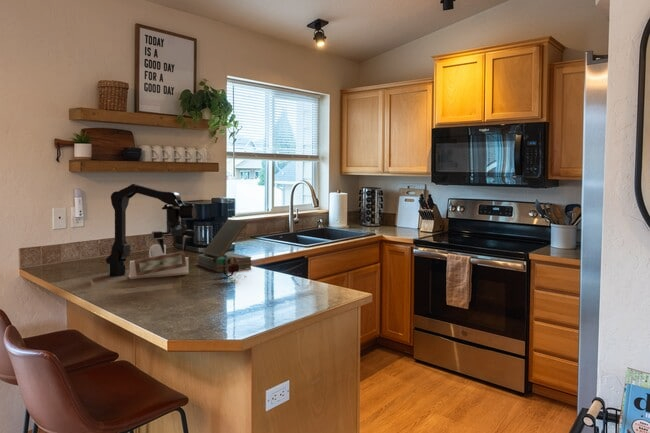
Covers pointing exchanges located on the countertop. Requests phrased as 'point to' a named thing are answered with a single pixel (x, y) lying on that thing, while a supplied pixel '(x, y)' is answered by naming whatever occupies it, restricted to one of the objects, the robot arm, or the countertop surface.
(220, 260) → the binoculars
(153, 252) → the mug
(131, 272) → the long wooden tray
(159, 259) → the picture frame
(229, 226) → the open lidded box
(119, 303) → the countertop surface
